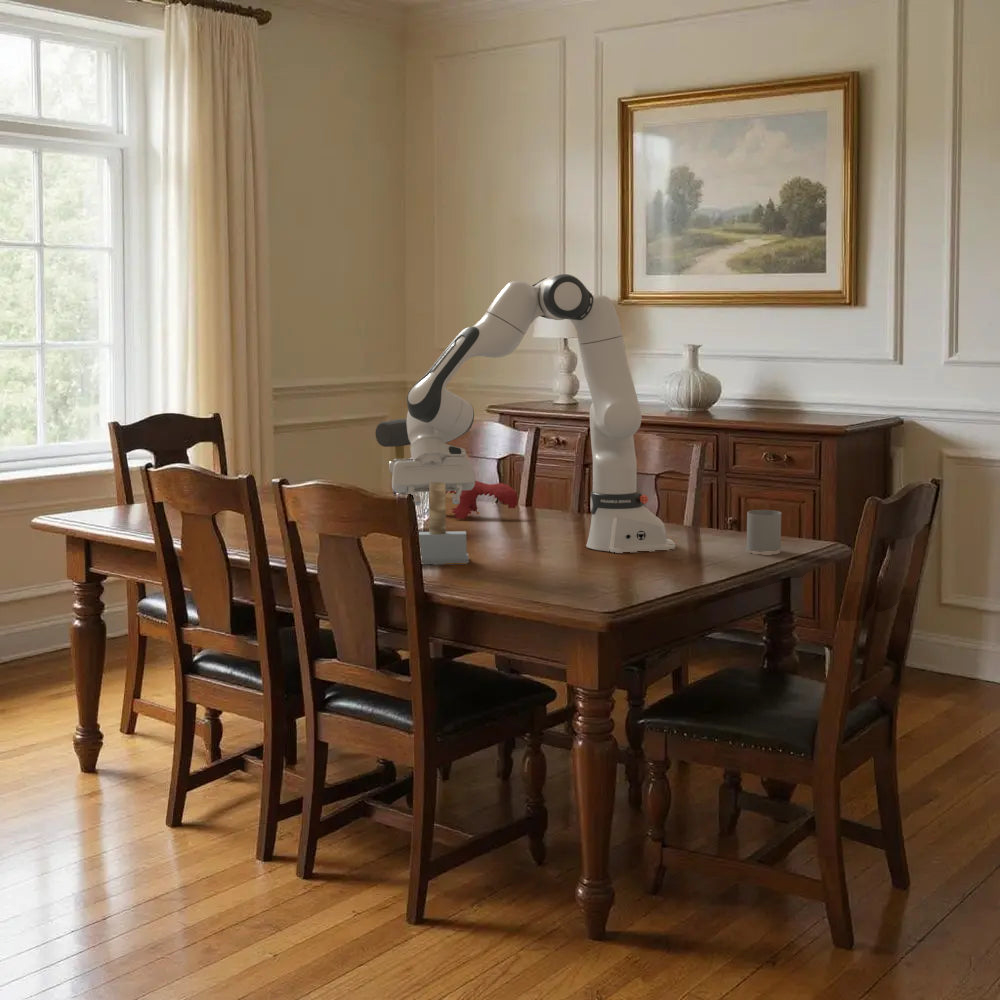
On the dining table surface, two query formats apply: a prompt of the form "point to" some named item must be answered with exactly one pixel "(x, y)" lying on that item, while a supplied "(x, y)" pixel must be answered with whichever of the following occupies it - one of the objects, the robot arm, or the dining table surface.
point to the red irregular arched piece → (480, 488)
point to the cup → (763, 530)
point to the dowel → (437, 508)
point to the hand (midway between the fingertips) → (437, 503)
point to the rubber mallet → (393, 436)
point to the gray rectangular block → (443, 547)
